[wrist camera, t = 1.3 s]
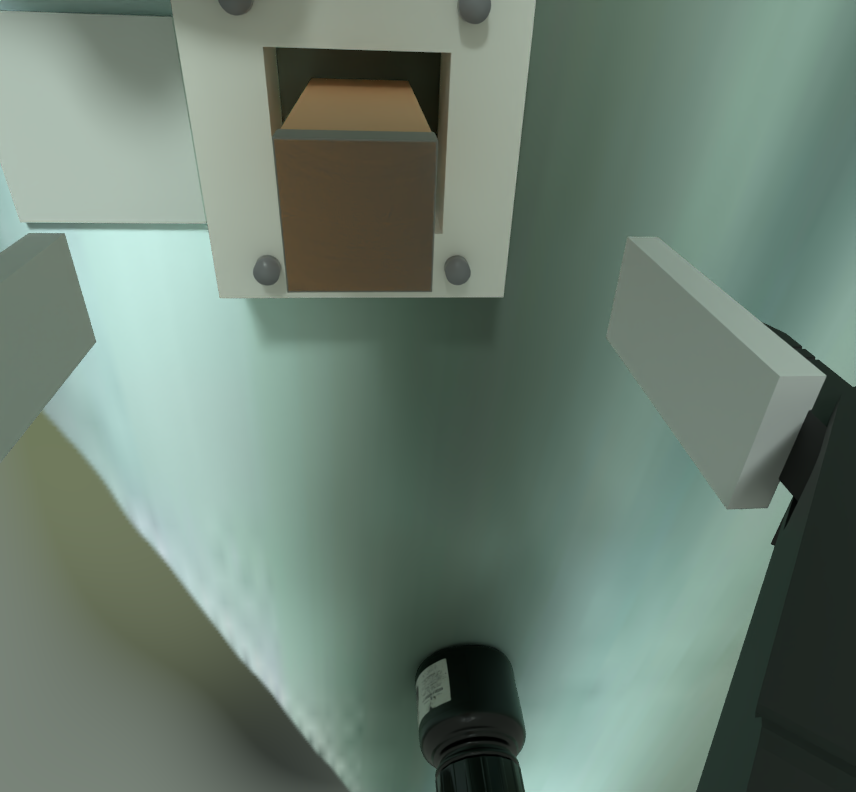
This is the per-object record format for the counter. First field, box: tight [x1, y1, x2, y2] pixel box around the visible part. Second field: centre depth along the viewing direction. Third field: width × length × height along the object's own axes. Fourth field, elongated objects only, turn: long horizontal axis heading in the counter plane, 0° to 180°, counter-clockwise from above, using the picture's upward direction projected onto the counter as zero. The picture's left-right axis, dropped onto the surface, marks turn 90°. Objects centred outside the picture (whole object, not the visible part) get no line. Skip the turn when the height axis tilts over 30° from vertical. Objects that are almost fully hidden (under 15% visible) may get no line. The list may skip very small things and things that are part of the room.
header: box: [170, 0, 536, 298], centre depth 28 cm, size 14×14×5 cm
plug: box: [272, 78, 438, 293], centre depth 24 cm, size 5×5×14 cm
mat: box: [0, 10, 207, 224], centre depth 29 cm, size 9×9×1 cm
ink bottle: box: [415, 645, 526, 792], centre depth 51 cm, size 10×9×12 cm
